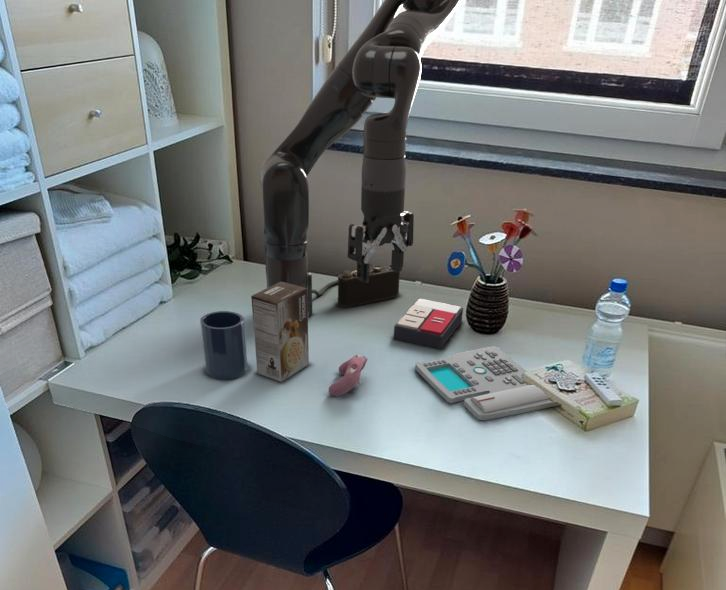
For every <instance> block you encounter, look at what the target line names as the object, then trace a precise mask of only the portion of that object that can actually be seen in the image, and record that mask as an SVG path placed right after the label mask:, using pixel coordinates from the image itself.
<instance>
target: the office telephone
mask: <svg viewBox="0 0 726 590" xmlns="http://www.w3.org/2000/svg"><path fill="white" fill-rule="evenodd" d="M414 365H415V367H414V370H415V371H416V372H417V373H418V374H419V375H420V376H421V377H422V378H423V380H425V381H426V382H427V383H428V385H430V386H431V387H432V388H433V389H434V390H435V391H436V392H437V393H438V394H439V396H441V397H442V398H443V399H444V400H445V401H446V402H447V403H448V404H455V403H457V402H461V401H464V402H463V406H464V407H465V408H466V409H467V410H468V412H470V414H472V416H474V417H475V418H476V419H477V420H478V421H488V420H493V419H498V418H504V417H507V416H515V415H519V414H525V413H529V412H534V411H538V410H543V409H547V408H553V407H558V406H561V405H562V403H561V404H559V403H558V402H552V401H550V400H549V397H548V396H547V394H545V393H544V392H543V391H542V390H541V389H540V388H538V387H536V386H535V385H526V384H525V383H524V382H523V381H522V379H521V375H522V374H523V373H525V372H528V371H527V370H526V369H525V368H524V367H522V366H521V365H519V364H518V363H517V362H516V361H515V360H514V359H512V358H511V357H510V356H508V355H507V354H506V353H505V352H504V351H503V350H502V349H501V348H499V347H498V346H497V345H493V346H486V347H481V348H476V349H472V350H467V351H461V352H456V353H453V354H451V355H450V356H447V357H443V358H438V359H434V360H433V359H432V360H429V361H423V362H415V364H414Z"/></svg>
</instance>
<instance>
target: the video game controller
mask: <svg viewBox="0 0 726 590" xmlns="http://www.w3.org/2000/svg"><path fill="white" fill-rule="evenodd" d="M367 361H368V358H367V357H366V356H364V355H362V354H361V355H359V353H357V354H355V355H353V356H352V357H351V358H349V359H348V360H346V361H344V362H343V363H342V364H340V365H339V367H338V373H339V374H340V375H341V376H342V377H341V378H339V380H337V381H334V382H333V383H332V384H330V386H329V387H328V393H329V395H331V396H334V397H337V396H341V395H345V394H346V393H348V392H351V390H353V389H354V387H355V386H357V387H358V386H360V385H361V383H362V380H361V379H360V378H361V375H362V373H361V372H362V371H363V370H364V369H365V367H366V364H367Z"/></svg>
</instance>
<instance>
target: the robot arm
mask: <svg viewBox="0 0 726 590" xmlns="http://www.w3.org/2000/svg"><path fill="white" fill-rule="evenodd" d="M460 3H461V0H383V1H382V3H381V5H380V6H379V8H378V9H377V10H376V12H375V14H374V15H373V17H372V18H371V19H370V21H369V22H368V24H367V26H366V27H365V29H364V30H363V31H362V32H361V34H359V36H358V37H357V39H356V40H355V41H354V43H353V44H352V45H351V46H350V48H349V49H348V51H347V52H346V53H345V54H344V55H343V57H342V58H341V59H340V61H339V62H338V63H337V65H336V66H334V69H333V70H332V71H331V73H330V74H329V76H328V77H327V78H326V79H325V81H324V83H323V84H322V86H321V87H320V89H319V90H318V92H317V93H316V94H315V96H314V97H313V99H312V100H311V102H310V103H309V105H308V106H307V108H306V110H305V112H304V113H303V115H302V117H300V120H299V121H298V123H297V124H296V126H294V128H293V129H292V130H291V132H290V133H289V134H288V135H286V138H284V140H283V141H282V142H281V143H280V144H279V145H278V147H276V148H275V150H273V151H272V153H271V154H270V155H269V156H268V157H267V158H266V160H265V161H264V162H263V164H262V166H261V169H260V173H259V183H260V187H261V190H262V191H261V192H262V208H263V211H262V212H263V227H262V228H263V229H262V230H263V242H264V243H263V245H264V261H265V262H264V263H265V264H264V265H265V282H266V288H268V287H271V286H273V285H275V284H277V283H279V282H285V283H288V284H293V285H297V286H300V287H304V288H307V307H308V318H309V317H310V316H312V315H313V294H314V295H316V296H317V297H320V296H322V295H323V294H324V293H325V292H326V291H327V290H328V289H329V288H330V287H332V286H335V285H338V279H337V280H333V281H331V282H329V283H327V284H326V285H325V286H324V287H323V288H322V289H321V290H320V291H318V290H317V289H313V275H312V273H311V272H309V253H308V252H309V248H308V243H309V242H308V231H309V226H310V190H309V189H310V186H309V180H308V179H309V178H308V176H309V174H310V172H311V171H312V170H313V168H314V166H315V164H316V163H317V162H318V160H319V159H320V158H321V156H322V155H323V153H325V152H326V151H327V150H328V148H330V147H331V146H332V145H333V144H334V143H335V142H337V141H338V140H339V139H341V137H343V136H344V135H345V134H347V133H348V132H349V131H351V129H352V128H353V127H354V126H355V125H356V124H357V123H358V122H359V121H360V120H361V118H363V116H364V115H365V113H366V112H367V111H368V110H369V108H370V107H371V106H372V104H373V103H374V102H375V100H376V99H377V98H381V99H394V104H393V107H392V108H391V110H388V111H384V112H378V113H374V114H371V115H369V116H367V117H366V118H365V120H364V124H363V149H362V150H363V151H362V152H363V155H362V164H361V189H360V191H361V193H360V195H361V196H360V204H361V207H360V210H361V212H362V215H363V221H362V223H361V224H354V223H350V224H349V225H348V237H347V259H350V260H352V261H353V262H354V261H355V262H356V270H357V278H358V280H359V281H361V282H363V283H367V282H369V269H370V262H369V261H370V259H371V258H372V256H373V254H374V253H376V252H377V250H378V248H379V247H381V246H384V245H386V244H390V246H391V247H392V248H393V249H391V262H390V263H391V269H392V270H393V271H396V272H400V273H401V272H402V270H403V267H404V257H405V251H407V248H408V247H412V246H413V244H414V225H415V224H414V223H415V222H414V218H415V217H414V216H415V215H414V213H412V212H410V211H406V210H405V198H406V196H405V195H406V176H407V166H406V151H407V149H406V147H407V129H408V123H409V118H410V113H411V110H412V106H413V103H414V99H415V96H416V93H417V90H418V87H419V83H420V80H421V75H422V62H421V57H422V56H423V54H424V51H425V50H426V48H427V46H428V45H429V44H430V43H431V42H432V41H433V40H434V39H435V38H436V37H437V36H438V35H439V33H440V32H441V30H443V28H444V27H445V26H446V24H447V23H448V22H449V20H450V19H451V18H452V17H453V15H454V13H455V12H456V11H457V9H458V7H459V5H460ZM401 8H403V9H405V10H404V11H401V12H399V11H400V9H401ZM368 242H369V243H370V244H369V243H368Z"/></svg>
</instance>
